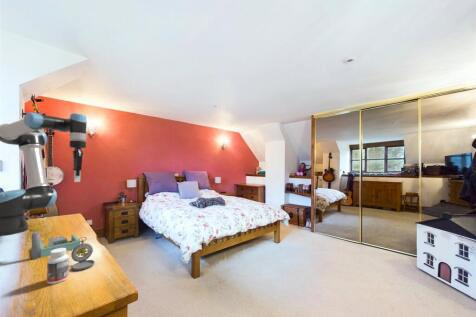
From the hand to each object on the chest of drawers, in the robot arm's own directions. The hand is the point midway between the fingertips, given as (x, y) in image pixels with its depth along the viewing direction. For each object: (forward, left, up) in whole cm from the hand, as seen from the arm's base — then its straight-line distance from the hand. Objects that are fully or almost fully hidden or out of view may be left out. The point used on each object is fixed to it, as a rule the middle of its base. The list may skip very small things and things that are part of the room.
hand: (77, 181), depth 119 cm
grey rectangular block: (+22, -10, -29) cm, 37 cm away
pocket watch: (+52, -6, -29) cm, 60 cm away
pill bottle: (+58, -14, -29) cm, 66 cm away
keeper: (+24, -11, -28) cm, 39 cm away
